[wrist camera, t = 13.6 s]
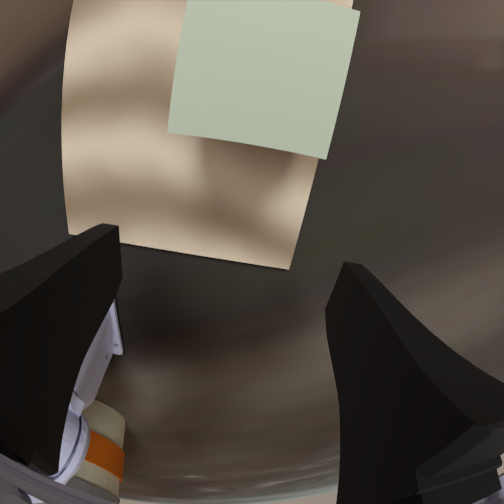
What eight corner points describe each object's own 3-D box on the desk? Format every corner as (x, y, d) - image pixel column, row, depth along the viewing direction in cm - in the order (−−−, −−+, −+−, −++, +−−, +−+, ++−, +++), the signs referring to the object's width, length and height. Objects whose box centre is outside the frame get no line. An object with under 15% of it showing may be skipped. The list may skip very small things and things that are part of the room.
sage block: (305, 130, 12) (325, 159, 8) (197, 112, 12) (167, 132, 8) (327, 30, 10) (360, 11, 6) (215, 10, 9) (191, -19, 6)
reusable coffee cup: (44, 383, 35) (8, 468, 22) (112, 392, 33) (79, 498, 21) (87, 427, 41) (64, 501, 29) (151, 436, 40) (133, 523, 27)
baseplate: (288, 261, 22) (288, 270, 21) (75, 227, 21) (68, 234, 20) (349, -4, 13) (355, -8, 12) (86, -20, 12) (77, -23, 11)
